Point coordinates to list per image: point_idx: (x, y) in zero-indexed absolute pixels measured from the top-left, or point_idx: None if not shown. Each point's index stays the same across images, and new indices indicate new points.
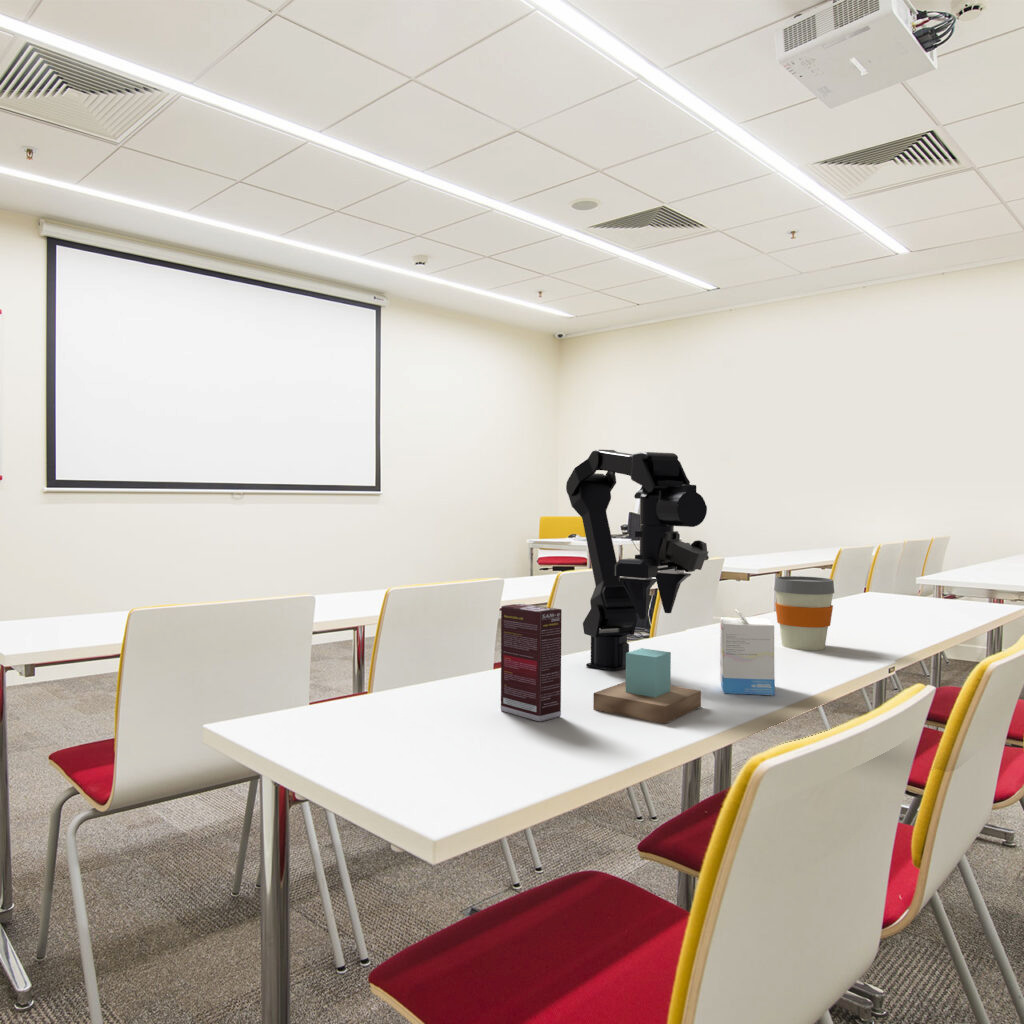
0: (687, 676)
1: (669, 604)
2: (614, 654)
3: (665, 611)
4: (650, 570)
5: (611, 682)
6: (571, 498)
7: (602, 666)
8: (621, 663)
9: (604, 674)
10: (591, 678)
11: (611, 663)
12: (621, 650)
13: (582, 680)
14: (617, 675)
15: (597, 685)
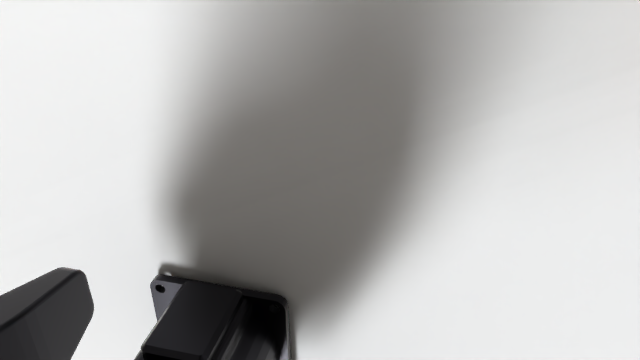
0: (128, 13)
1: (28, 338)
2: (233, 352)
3: (87, 315)
4: None
5: (473, 251)
6: None
7: (280, 347)
8: (236, 301)
9: (351, 312)
10: (451, 331)
11: (257, 331)
12: (214, 343)
13: (508, 348)
14: (333, 269)
15: (567, 280)
